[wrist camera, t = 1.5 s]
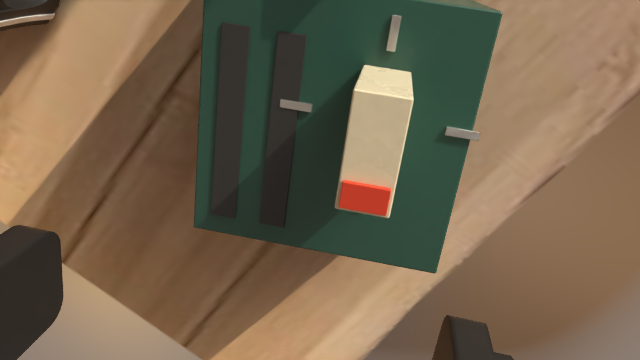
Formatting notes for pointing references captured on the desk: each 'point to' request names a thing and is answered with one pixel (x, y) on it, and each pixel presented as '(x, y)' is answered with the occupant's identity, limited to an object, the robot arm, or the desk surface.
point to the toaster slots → (279, 124)
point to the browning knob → (375, 141)
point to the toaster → (333, 113)
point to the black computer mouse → (26, 12)
